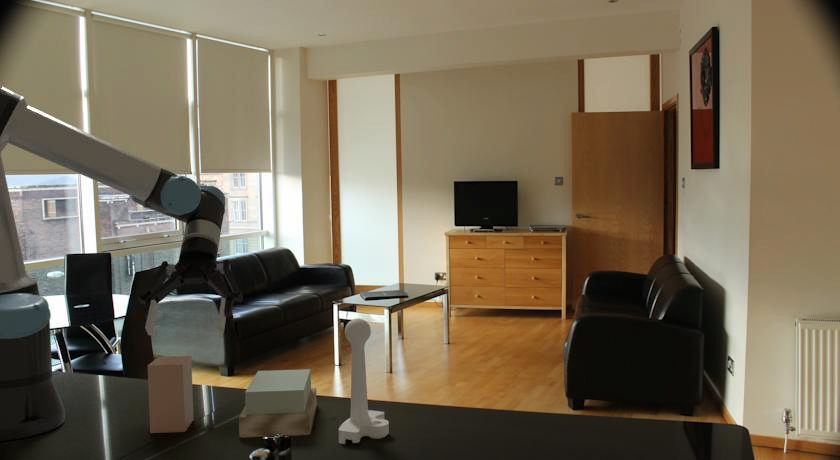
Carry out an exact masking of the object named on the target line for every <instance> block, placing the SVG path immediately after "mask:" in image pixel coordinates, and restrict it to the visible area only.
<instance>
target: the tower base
mask: <svg viewBox="0 0 840 460" xmlns="http://www.w3.org/2000/svg"><path fill="white" fill-rule="evenodd" d="M317 403H318V402H317V388H316V387H314V388H313V387H311V391H310V395H309V398H308V402H307V405H306V409H305V412H304V413H283V414H257V415H246V405H245V406H244V407H243V409H242V410H241V412H240V415H239V416H238V433H239V434H238V435H239V437H241V438H258V437H259V438H260V437H262V438H264V436H266V437H273V436H272V435H276V434H285V435H289V436H307V435H308V436H309V435H311V433H312V428H313V424H314V419H315V416H316V415H315V414H316V412H317V406H318V405H317ZM289 436H288V437H289ZM239 437H238V438H239Z"/></svg>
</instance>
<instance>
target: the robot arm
mask: <svg viewBox="0 0 840 460" xmlns="http://www.w3.org/2000/svg"><path fill="white" fill-rule="evenodd" d="M1 86H2V85H1ZM8 144H10V145H12V146H14V147H17V148H19V149H22V150H24V151H26V152H28V153H29V154H33V155H35V156H38V157H40V158H42V159H45V160H46V161H49V162H52V163H54V164H56V165H58V166H61V167H63V168H65V169H68V170H70V171H72V172H74V173H77V174H79V175H82V176H84V177H86V178H88V179H91V180H93V181H96V182H98V183H100V184H102V185H105V186H107V187H110V188H112V189H114V190H116V191H118V192H120V193H121V192H122V193H124V194H126V195H128V196H130V197H131V199H132V201H133V202H134V203H136V204H137V205H141V206H142V207H143V208H145V209H150V210H152V211H154V212H157V213H160V214H162V215H165V216H168V217H170V218H173V219H176V220H177V221H180V222H181V223H182V222H183V223H185V227H184V233H183V235H182V241H181V247H180V250H179V257H178V261H177V262H176V263H175V264H174V263H169V262H168V261H166V260H164V261H162V262H161V264H160V267H159V269H158V271H157V272H156V273H155V274H154V275H153V276H152V277H151V278H150V279H149V281H148V282H147V283H146V285H145V286H144V287H143V288H142V289H141V290H140V291H139V292H138V294H137V298H138V301H139V304H141V306H142V305H143V306H144V305H145V306H144V310H143V315H144V319H146V322H145V326H144V328H145V331H146V333H147V335H148V336H153V334H154V330H155V327H156V325H155V324H156V322H157V321H156V320H157V316H158V313H159V305H158V304H159V303H161V302H162V301H163V300H164V299H165V298H166V297H168V296H170V295H171V293H173V292H174V291H175V290H176V289H178V288H180V287H182V286H183V285H185V284H186V285H193V284H196V285H203V284H204V283H205V282H206V284H208V286H209V287H211V288H212V289H214V291H215V292H216V294H218V295H219V296H220V298H221V300H220V305H219V314H218V320H217V328H218V332H219V334H224V333H225V326H226V319H227V318H231V317H232V313H233V306H234V304H235V303H238V302H239V303H241V302H243V300H244V298H243V293H242V290H241V289H240V287H239V284H238V283H237V280H236V279H235V276H234V275H233V273H232V268H231V264H230V260H228V259H224V260H223V262H220V263H217V260H218V254H219V253H218V252H219V245H220V239H221V236H222V235H221V234H222V233H221V232H222V227H223V223H224V222H223V221H224V216H225V212H226V196H225V193H223V191H222V190H221V189H220V188H218V187H216V186H214V185H206V184H202V185H199V186H198V183H197V182H195V181H194V179H192V178H190V177H187V176H185V175H178V174H176V173H174V172H172V171H170V170H168V169H165V168H163V167H161V166H159V165H157V164H154V163H152V162H150V161H148V160H146V159H145V158H142V157H139V156H137V155H135V154H134V153H131V152H129V151H127V150H124V149H122V148H121V147H118V146H117V145H115V144H112V143H110V142H107V141H105V140H103V139H101V138H99V137H97V136H94V135H93V134H90V133H88V132H86V131H84V130H81V129H80V128H79V127H78V128H77V127H76V126H74V125H71V124H69V123H67V122H64V121H63V120H60V119H59V118H56V117H54V116H52V115H49V114H47V113H45V112H44V111H41V110H39V109H37V108H35V107H32V106H31V105H28V104H27V101H26V99H25V97H24V96H22V95H20V94H18V93H16V92H14V91H13V90H10V89H8V88H7V87H4V86H2V88H1V89H0V442H1V441H2V442H4V441H10V440H11V441H12V440H18V439H24V438H28V437H33V436H38V435H40V434H41V435H42V434H43V433H48V432H49V431H51V430H54V429H57V428H58V427H60V426H62V425H63V424H64V422H65V421H66V413H65V411H66V410H65V406H64V404H63V400H62V398H61V396H60V394H59V392H58V389H57V388H56V387H57V386H56V385H55V382H54V379H53V365H52V364H53V363H52V359H53V358H52V343H51V342H52V341H51V340H52V339H51V321H50V320H51V317H52V315H51V310H50V305H49V302H48V300H47V299H46V297H43V296H41V295H40V291H39V286H38V283H37V280H36V279H34V278H33V277H31V276H29V275H28V274H27V272H26V267H25V262H24V258H23V254H22V253H23V252H22V249H21V248H22V247H21V243H20V238H19V234H18V228H17V224H16V220H15V215H14V211H13V206H12V201H11V195H10V192H9V186H8V181H7V178H6V173H5V167H4V162H3V159H2V151H4V149H5V148H6V146H8ZM217 271H220V273H221V274H222V275H224V277H225V279H226V282H227V283H228V285H229V287H230V290H231V291H230V290H228V289H227V288H226V287H225V285H223V284H222V282H221V281H220V280H218V278H217V277H216V276H215V275H214V274H216V273H217ZM173 272H174V273H173ZM172 273H173V274H172ZM169 276H171V277H169ZM168 277H169V278H168Z"/></svg>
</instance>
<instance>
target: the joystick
mask: <svg viewBox="0 0 840 460" xmlns="http://www.w3.org/2000/svg"><path fill="white" fill-rule="evenodd" d="M371 332H372V329H371V325H370V323H369V322H368V321H366V320H365V319H363V318H358V317H357V318H353V319H351V320H349V321H348V322H347V323H346V325H345V328H344V335H345V338H346V339H347V341H348V342H349V343H350V346H351V371H350V372H351V376H350V379H351V380H350V417H349V418H347V419H346V420H345V421H344V422H343V423H341V424H340V426H339V428H338V444H340V445H346V443H347V440H350V441H352V443H353V444H357V443H358V444H359V443H360V442H361V439H362V438H363V437H368V438H369V439H374V440H375V439H383V438H385V437H387V436H388V435H389V433H390V430H389V429H390V427H389V426H390V422H389V420H387V419H385V411H378V410H370V409H369V404H368V403H369V402H368V387H367V371H366V369H367V368H366V355H365V354H366V353H365V351H366V350H365V346H366V342H367V341H368V340H369V339H370V336H371V334H372V333H371Z"/></svg>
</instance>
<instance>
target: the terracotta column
mask: <svg viewBox="0 0 840 460" xmlns="http://www.w3.org/2000/svg"><path fill="white" fill-rule="evenodd" d="M192 363H193V361H192V355H189V356H188V355H185V356H160V357H159V356H158V357H156V358H155V359H154V360H153V361H151V362H150V363H149V364H147V381H148V382H147V383H148V385H147V386H148V387H147V388H148V409H149V410H148V411H149V433H150V434H156V433H157V434H161V433H163V434H164V433H165V434H166V433H184V432H186V431H187V430H188V429H189V427H190V426H191V425H190V424H192V423H193V422H194V421H195V420H194V396H193V390H194V389H193V368H192ZM192 421H193V422H192Z"/></svg>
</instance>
